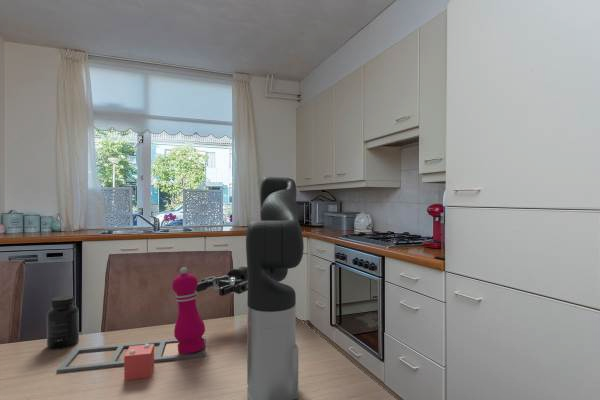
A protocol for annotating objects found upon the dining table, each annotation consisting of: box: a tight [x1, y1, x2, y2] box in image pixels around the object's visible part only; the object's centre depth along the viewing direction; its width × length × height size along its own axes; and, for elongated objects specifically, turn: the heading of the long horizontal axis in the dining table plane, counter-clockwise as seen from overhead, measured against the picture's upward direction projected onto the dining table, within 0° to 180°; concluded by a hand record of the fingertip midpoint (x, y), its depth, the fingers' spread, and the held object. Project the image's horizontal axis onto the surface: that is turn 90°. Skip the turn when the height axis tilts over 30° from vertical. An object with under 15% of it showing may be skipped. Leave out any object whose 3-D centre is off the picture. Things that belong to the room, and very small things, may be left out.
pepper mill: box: [171, 267, 206, 354], centre depth 85 cm, size 7×7×20 cm
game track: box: [56, 335, 206, 374], centre depth 83 cm, size 31×11×1 cm, turn 105°
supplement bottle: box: [46, 294, 80, 350], centre depth 89 cm, size 7×7×12 cm
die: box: [123, 344, 155, 381], centre depth 74 cm, size 5×5×6 cm
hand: (208, 290), depth 94 cm, fingers open, 8 cm apart
